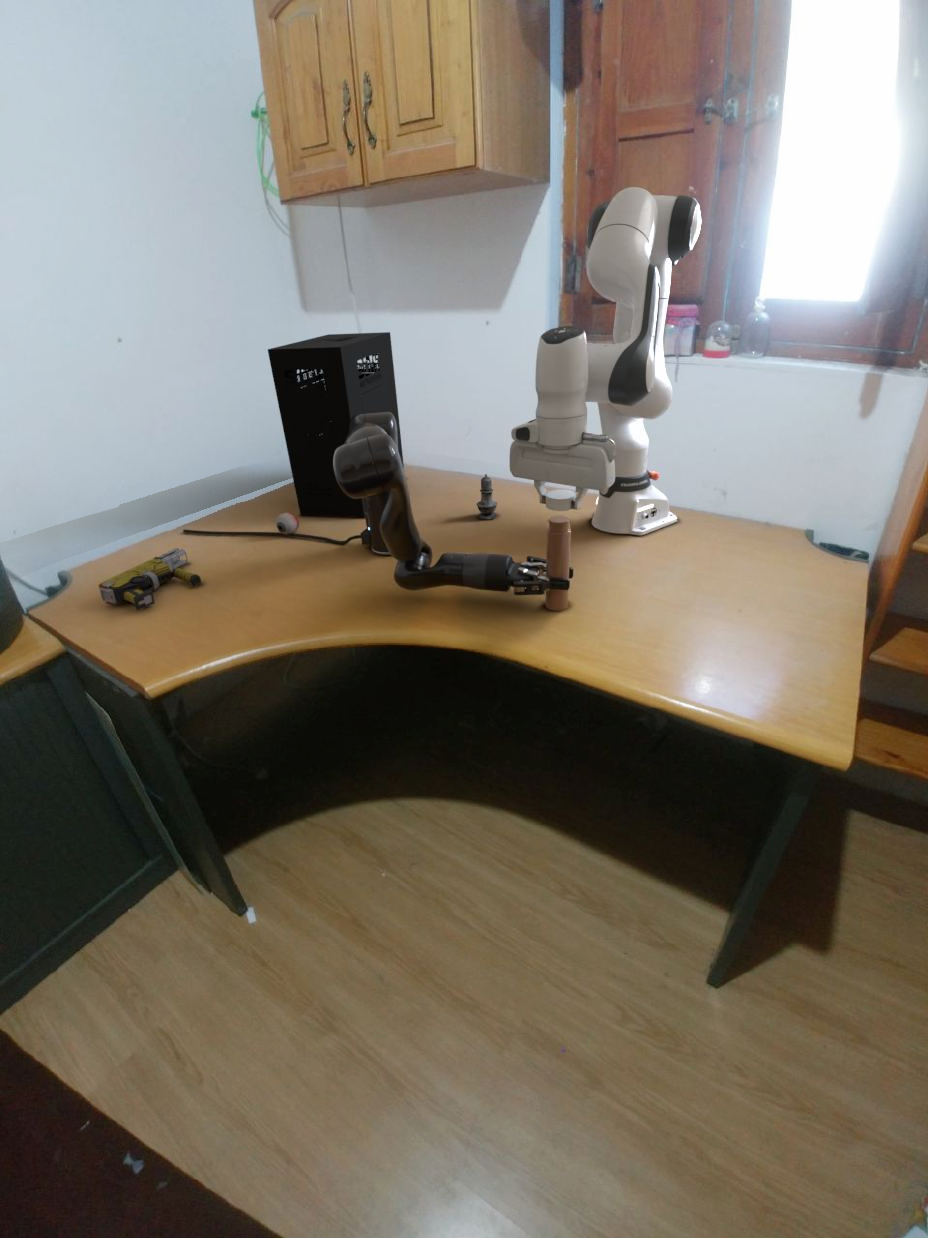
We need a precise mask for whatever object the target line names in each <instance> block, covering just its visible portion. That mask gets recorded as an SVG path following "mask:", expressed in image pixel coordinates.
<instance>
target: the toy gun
mask: <svg viewBox="0 0 928 1238" xmlns="http://www.w3.org/2000/svg"><path fill="white" fill-rule="evenodd" d="M183 556H185V560H184V559H181V558H182V557H183ZM188 562H189V560H188V554H187V551H186V549H183V548H181V549H180V548H179V547H175V548H174V549H172V550H169V551H168V552H165V553H163V554H161V555H159V556H155V557H152V558H151V559H148V560H146V561H145V562H142V563H140V564H138V565H136V566H134V567H132V568H130V569H128V570H125V571H123V572H121V573H119V574H117V575H115V576H113V577H111V578H108V579H106V580H104V581H102V582H100V583H99V584H98V589H99V592H100V596H101V599H102V601H103V602H105V604H106V605H110V606H111V605H114V604H115V605H121V604H126V603H132V604H134V605H135V609H136V611H141V610H144V609H145V608H147V607H149V606H153V605H154V604H155V603H156V602H155V599H154V594H153V592H154V591H156V590H158V589H159V588H160V584H164V583H166V582H168V581H171V580H172V579H173V578H176V579H179V580H182V581H183V582H186V583H188V584H191V585H192V586H198V585H199V584H201V582H202V579H201V576H200V575H199V574H195V573H193V572H190V571H187V570H185V569H183V568H181V566H183V565H185V564H188Z"/></svg>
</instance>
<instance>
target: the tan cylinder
mask: <svg viewBox="0 0 928 1238" xmlns="http://www.w3.org/2000/svg"><path fill="white" fill-rule="evenodd" d="M547 521H548V527H547V528H546V555H545V556H546V557H545V559H546V572H545V573H546V577H549V578H551V577H554V578H566V579H569V567H571V566H570V563H571V539H572V528H571V527H570V523H571V519H570V517H568V516H565V515H561V514H560V515H552V516H550V517H548V520H547ZM569 580H570V579H569ZM544 605H545V608H546V609H548V610H550V611H555V612H559V611H564V610H566V609H568V607H569V590H558V589H549V590H548V591H545V604H544Z"/></svg>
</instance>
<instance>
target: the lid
mask: <svg viewBox="0 0 928 1238" xmlns="http://www.w3.org/2000/svg"><path fill="white" fill-rule="evenodd" d="M547 492H548V493H547V494H546V504H545V507H546V509H547V510H550V511H555V512H567V511H571V510H572V509H571V500H573V499H574V498H575V497H577V495H576V494H577V492H576V491H574V490H570V489H565V488H563V489H561V488H559V489H553V490H550V491H547Z"/></svg>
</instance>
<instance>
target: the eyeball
mask: <svg viewBox="0 0 928 1238" xmlns="http://www.w3.org/2000/svg"><path fill="white" fill-rule="evenodd" d="M299 525H300V522H299V519H298V517H297V516H296V515H295V514H294V513H292V512H287V511H286V512H282V513H280V514H279V515H278V516H277V517H276V520H275V527H276V529H277V530H278V532H279V533H283V534H291V533H294V534H295V533H296V532H297V531H298V529H299Z"/></svg>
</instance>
